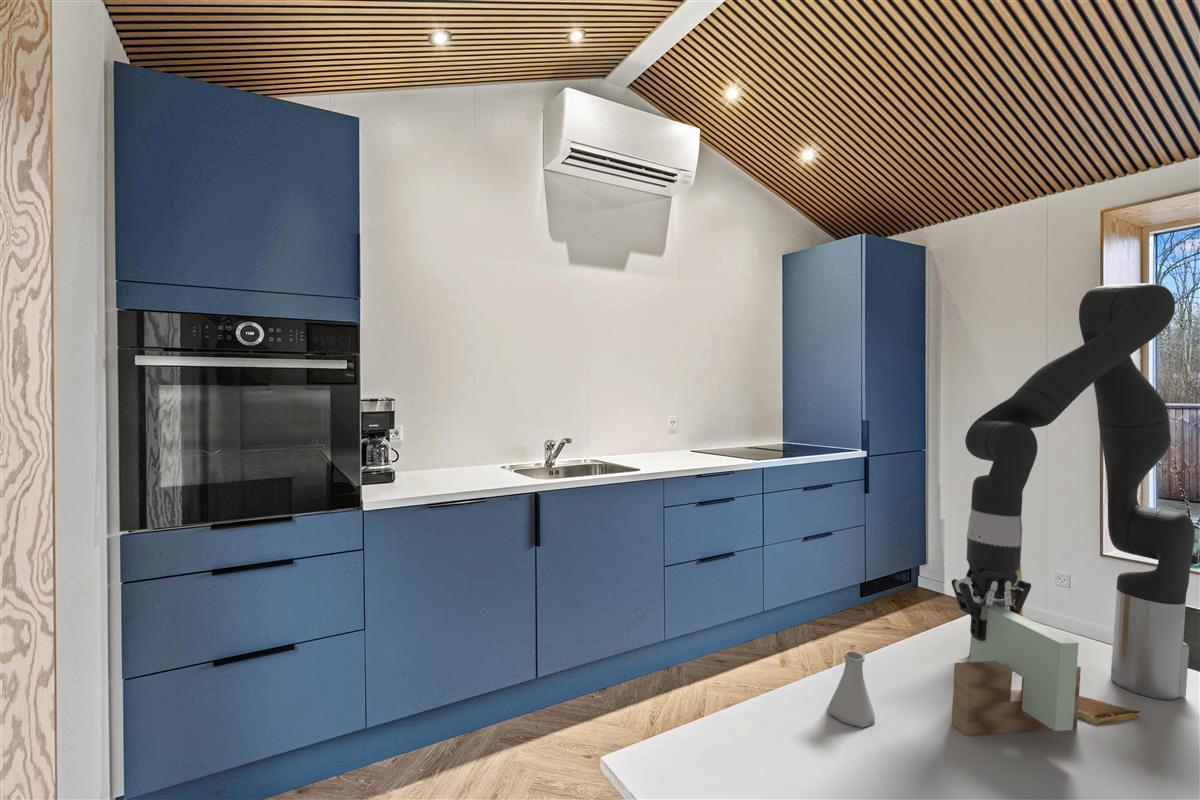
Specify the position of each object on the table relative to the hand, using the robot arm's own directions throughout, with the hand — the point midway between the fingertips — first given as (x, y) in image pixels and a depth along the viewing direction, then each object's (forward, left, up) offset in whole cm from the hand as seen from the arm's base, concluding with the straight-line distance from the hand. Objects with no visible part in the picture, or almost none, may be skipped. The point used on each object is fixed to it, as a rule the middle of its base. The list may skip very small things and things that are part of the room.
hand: (988, 638), depth 97 cm
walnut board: (-2, +6, -12) cm, 13 cm away
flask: (+24, +7, -12) cm, 28 cm away
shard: (-18, -2, -12) cm, 22 cm away
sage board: (-2, +6, -7) cm, 9 cm away
